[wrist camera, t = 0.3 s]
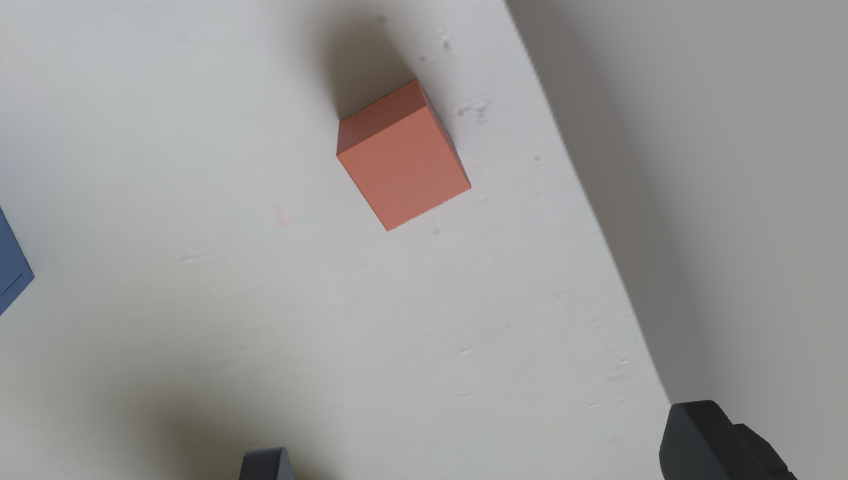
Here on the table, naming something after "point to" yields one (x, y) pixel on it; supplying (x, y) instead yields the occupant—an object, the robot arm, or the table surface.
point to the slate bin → (11, 267)
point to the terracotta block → (401, 156)
